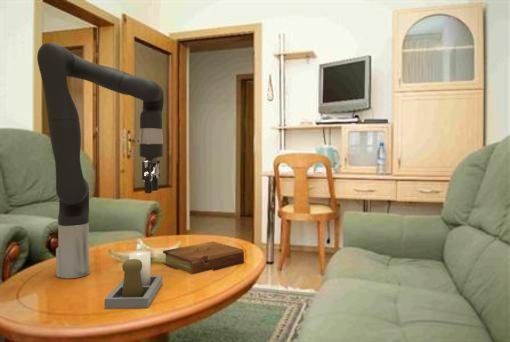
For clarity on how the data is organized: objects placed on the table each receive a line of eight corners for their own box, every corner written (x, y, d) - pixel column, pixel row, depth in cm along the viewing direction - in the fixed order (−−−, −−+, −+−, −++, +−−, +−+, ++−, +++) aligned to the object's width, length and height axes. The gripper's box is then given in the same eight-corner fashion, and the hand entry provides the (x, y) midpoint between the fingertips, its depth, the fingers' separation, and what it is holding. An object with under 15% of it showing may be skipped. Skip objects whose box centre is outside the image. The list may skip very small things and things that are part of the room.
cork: (131, 305, 103) (130, 264, 103) (116, 300, 107) (115, 260, 106) (149, 298, 108) (148, 259, 108) (134, 294, 112) (134, 255, 111)
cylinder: (126, 293, 112) (126, 255, 112) (132, 286, 118) (132, 250, 118) (148, 293, 113) (147, 255, 112) (152, 286, 119) (152, 249, 118)
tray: (104, 310, 101) (104, 299, 101) (126, 286, 120) (125, 276, 120) (147, 310, 102) (147, 298, 102) (162, 285, 121) (162, 275, 121)
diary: (192, 278, 130) (192, 260, 130) (163, 266, 144) (162, 250, 144) (244, 264, 146) (243, 248, 146) (213, 254, 160) (213, 240, 159)
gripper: (145, 143, 136) (145, 190, 137) (133, 142, 122) (133, 194, 123) (167, 143, 137) (167, 190, 137) (157, 142, 122) (158, 194, 123)
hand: (151, 191), depth 130 cm, fingers open, 8 cm apart
